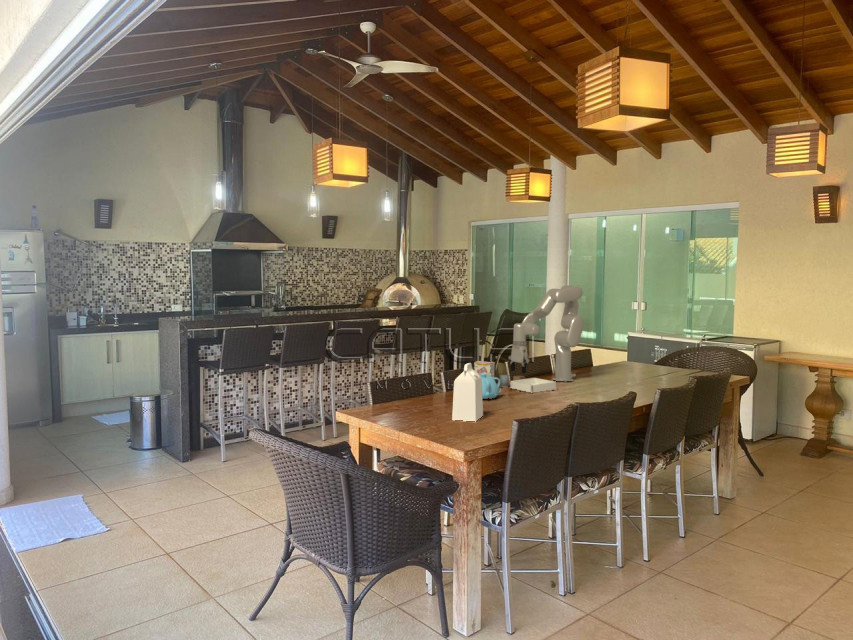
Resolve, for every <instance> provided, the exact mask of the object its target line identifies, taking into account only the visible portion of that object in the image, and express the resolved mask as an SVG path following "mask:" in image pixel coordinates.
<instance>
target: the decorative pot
mask: <svg viewBox="0 0 853 640" xmlns="http://www.w3.org/2000/svg"><path fill="white" fill-rule="evenodd" d="M480 377H481V379H482V400H483V399H484V400H485V399H486V400H489V399H488V398H493V399H495V398H497V396H498V394H500V393H501V392H502V388H501V387H500V378H498V377H496V376H494V378H493V377H491V376H486V374H485V373H482V374H481V376H480ZM496 380H497V381H498V382H497V383H496Z"/></svg>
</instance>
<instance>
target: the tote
mask: <svg viewBox="0 0 853 640" xmlns="http://www.w3.org/2000/svg"><path fill="white" fill-rule="evenodd" d="M557 386H558V382H556V381H553V380H549V379H543V378H538V377H530V378H525V379H522V380H514V381H513V380H509V389H510V388H512V389H517V390H521V391H526V392H531V393H533V392H540V391H546V390H552V389H557V388H558V387H557Z"/></svg>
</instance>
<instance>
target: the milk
mask: <svg viewBox="0 0 853 640" xmlns="http://www.w3.org/2000/svg"><path fill="white" fill-rule="evenodd" d="M452 397H453V398H452V418H451V420H452V421H455V420H463V421H462V422H466V421H475V422H474V423H477V422H478V421H479V420H480V419H479V418H481V417H482V416H483V417H484V407H483V401H484V400H483V399H482V379H481V377H480V376H479V375H478V374H477V373H476V372H475V371H474V368H473V366H472V363H471V362H468V363H466V364H464V367H463V372H462V373H460V374H459V375H458V376H457V377H456V378H455V380H454V382H453V395H452ZM483 417H482V418H483ZM482 418H481V419H482ZM478 419H479V420H478ZM477 420H478V421H477ZM476 421H477V422H476Z"/></svg>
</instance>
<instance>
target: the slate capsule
mask: <svg viewBox="0 0 853 640" xmlns="http://www.w3.org/2000/svg"><path fill="white" fill-rule="evenodd" d="M509 375H510V374H500V378H499V379H500V385H501V386H509V387H510V378H509V377H510V376H509Z"/></svg>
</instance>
